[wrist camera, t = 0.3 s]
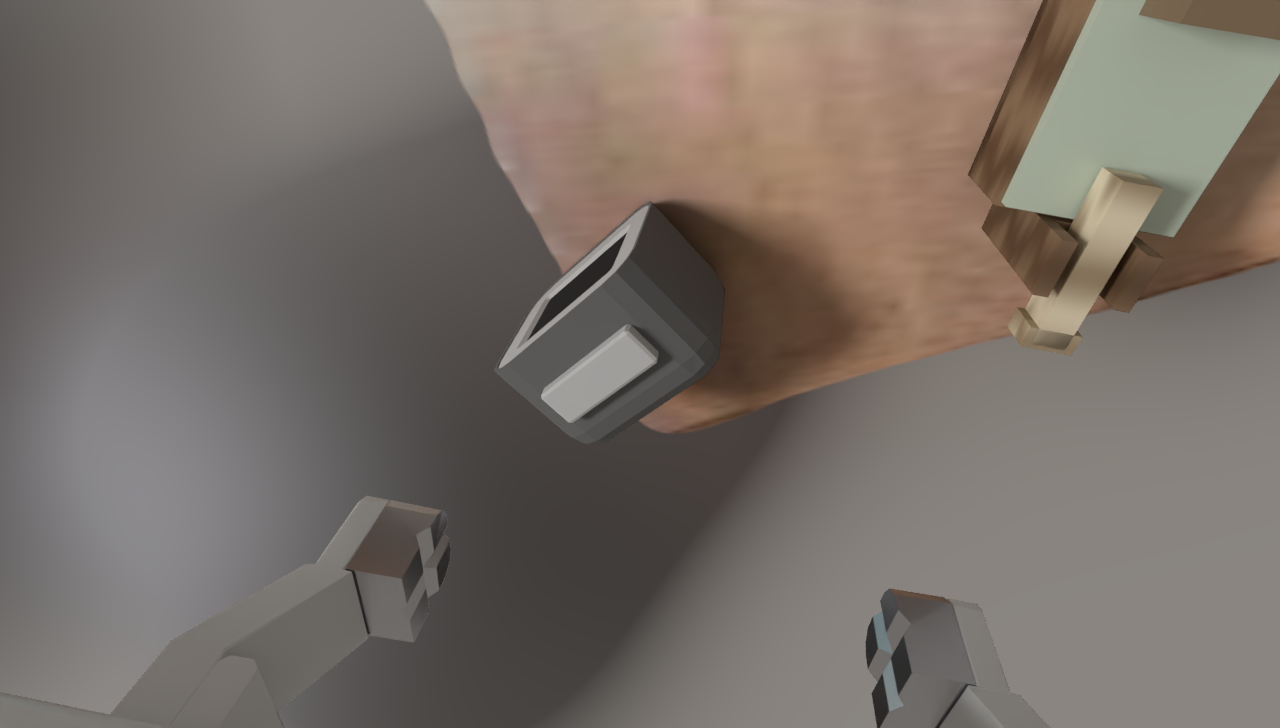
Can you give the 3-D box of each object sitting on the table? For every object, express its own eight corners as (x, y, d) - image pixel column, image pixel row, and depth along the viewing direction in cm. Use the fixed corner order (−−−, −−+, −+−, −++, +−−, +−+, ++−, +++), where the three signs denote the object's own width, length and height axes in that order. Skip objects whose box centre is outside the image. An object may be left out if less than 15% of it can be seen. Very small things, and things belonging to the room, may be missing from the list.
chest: (1086, -102, 41) (1191, -112, 32) (1279, -71, 41) (1446, -72, 31) (947, 222, 54) (991, 286, 44) (1093, 248, 53) (1171, 320, 43)
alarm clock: (655, 192, 56) (626, 269, 43) (739, 283, 60) (735, 379, 47) (535, 299, 64) (480, 391, 51) (615, 374, 67) (582, 478, 55)
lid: (1134, -99, 37) (1199, -104, 31) (1341, -66, 36) (1444, -66, 31) (996, 197, 46) (1028, 231, 41) (1158, 226, 46) (1211, 265, 41)
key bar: (1093, 165, 42) (1114, 179, 40) (1149, 175, 42) (1173, 190, 40) (1007, 325, 49) (1020, 346, 47) (1055, 334, 49) (1071, 355, 47)
